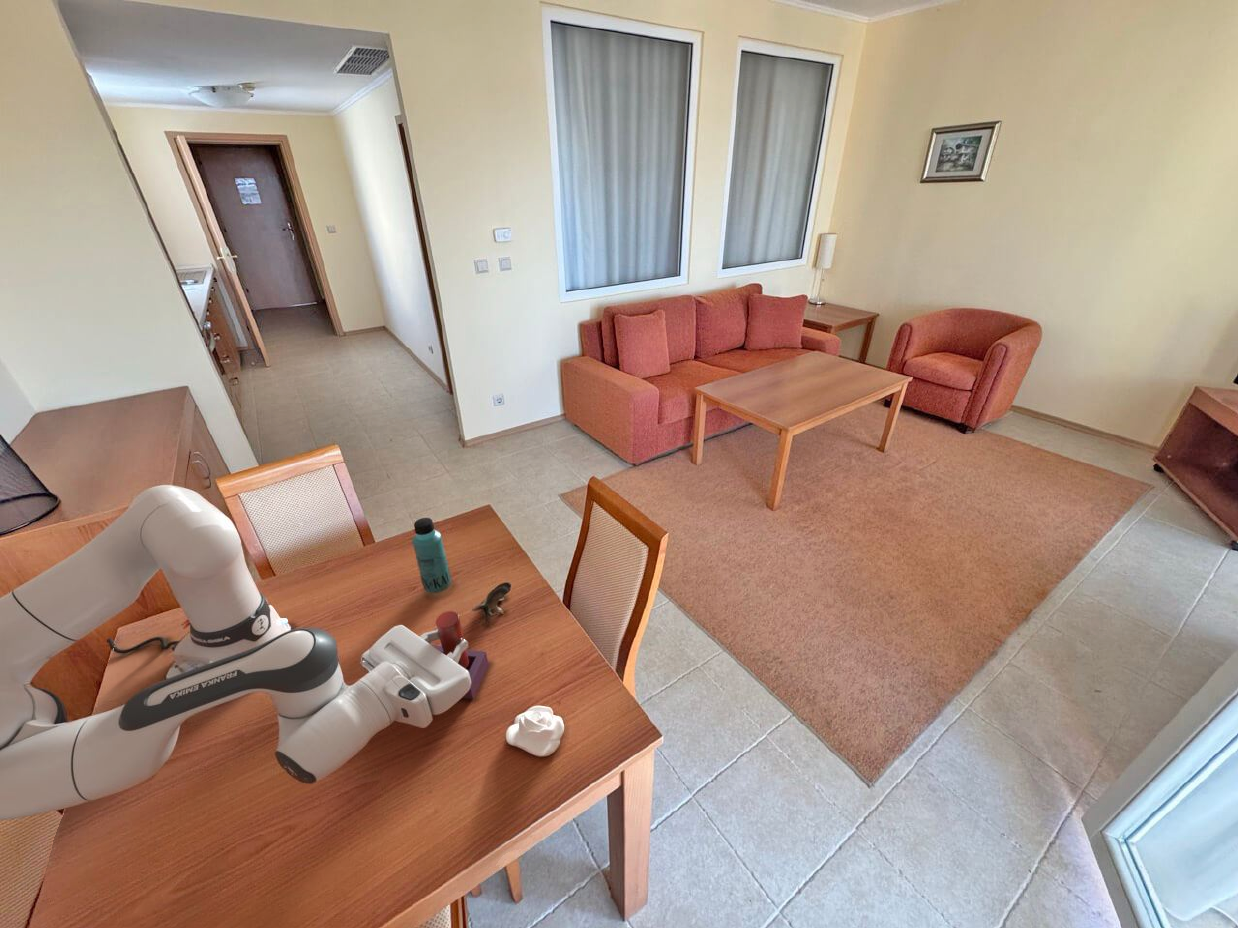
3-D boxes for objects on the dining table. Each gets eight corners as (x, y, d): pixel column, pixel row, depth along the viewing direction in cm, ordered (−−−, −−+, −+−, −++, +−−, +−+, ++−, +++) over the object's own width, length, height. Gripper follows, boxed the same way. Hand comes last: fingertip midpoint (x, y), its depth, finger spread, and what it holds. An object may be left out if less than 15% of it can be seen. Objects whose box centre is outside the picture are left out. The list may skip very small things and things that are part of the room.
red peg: (443, 671, 94) (431, 626, 88) (453, 654, 97) (442, 609, 91) (463, 674, 93) (452, 628, 87) (472, 657, 97) (462, 612, 91)
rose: (508, 755, 80) (499, 704, 88) (511, 771, 82) (502, 720, 90) (568, 734, 82) (554, 687, 90) (570, 750, 85) (556, 702, 93)
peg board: (373, 685, 96) (368, 671, 94) (395, 653, 103) (391, 639, 101) (473, 699, 93) (469, 685, 92) (488, 665, 100) (485, 651, 98)
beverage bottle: (425, 583, 121) (407, 516, 112) (453, 577, 123) (438, 511, 113) (424, 601, 116) (405, 532, 106) (453, 595, 118) (437, 527, 108)
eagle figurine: (510, 623, 108) (519, 589, 115) (487, 606, 105) (498, 572, 112) (485, 632, 111) (496, 598, 118) (462, 615, 108) (475, 582, 115)
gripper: (359, 672, 89) (424, 623, 99) (431, 733, 79) (495, 672, 89) (349, 648, 86) (417, 600, 96) (423, 708, 76) (491, 647, 86)
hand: (456, 635), depth 92 cm, fingers closed on red peg, 4 cm apart
